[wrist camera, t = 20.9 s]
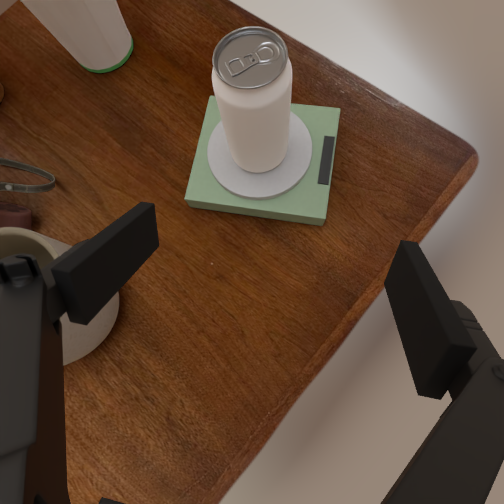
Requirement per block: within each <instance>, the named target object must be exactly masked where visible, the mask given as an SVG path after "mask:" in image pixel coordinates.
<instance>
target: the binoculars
mask: <svg viewBox="0 0 504 504" xmlns="http://www.w3.org/2000/svg"><path fill="white" fill-rule="evenodd" d="M0 164H2V165H7V166H11V167H16V168H19V169H23V170H27V171H30V172H33V173H36V174H39V175H41V176H43V177H45V178H48V179H49V180H51V181H52V182H51V183H48V184H43V185H22V184H14V183H7V182H0V191H4V190H5V191H16V192H25V193H39V192H46V191H50V190H52V189H53V188H54V187H55V177H54V176H53V175H52V174H51V173H49V172H47V171H45V170H42V169H40V168H37V167H34V166H31V165H28V164H25V163H21V162H17V161H13V160H9V159H4V158H0ZM1 227H19V228H24V229H28V230H31V229H32V212H31V210H29V209H28V208H26V207H24V206H21V205H17V204H12V203H5V202H0V228H1Z"/></svg>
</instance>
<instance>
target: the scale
mask: <svg viewBox="0 0 504 504" xmlns="http://www.w3.org/2000/svg"><path fill="white" fill-rule="evenodd" d="M339 115H340V108H331V107H321V106H311V105H301V104H291V106H290V121H289V135H288V147H287V152H286V155H285V157H284V159H283V160H282V162H281V163H280V164H279V165H278V166H276V167H275V168H273V169H271V170H269V171H266V172H261V173H255V172H249V171H246V170H244V169H242V168H241V167H239V166H238V165H237V164H236V163H235V161H234V160H233V158H232V155H231V152H230V149H229V145H228V141H227V138H226V134H225V130H224V127H223V123H222V119H221V116H220V112H219V108H218V104H217V101H216V97H215V96H210V98H209V102H208V106H207V110H206V114H205V118H204V122H203V126H202V130H201V134H200V138H199V142H198V146H197V150H196V154H195V158H194V163H193V167H192V171H191V175H190V179H189V183H188V187H187V191H186V195H185V200H186V202H187V203H188V204H189V206H190V207H194V208H201V209H208V210H215V211H222V212H229V213H236V214H243V215H249V216H256V217H263V218H270V219H277V220H284V221H291V222H298V223H305V224H312V225H319V226H322V225H323V223H324V221H325V219H326V212H327V205H328V197H329V190H330V182H331V175H332V167H333V160H334V152H335V145H336V137H337V130H338V122H339Z"/></svg>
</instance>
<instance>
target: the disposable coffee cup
mask: <svg viewBox="0 0 504 504" xmlns="http://www.w3.org/2000/svg"><path fill="white" fill-rule="evenodd" d="M3 96H4V88H3V86H2V84H1V83H0V103H1V101H2V99H3Z"/></svg>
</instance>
